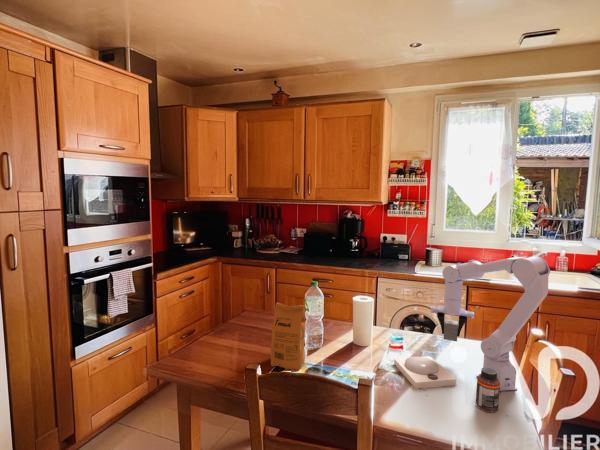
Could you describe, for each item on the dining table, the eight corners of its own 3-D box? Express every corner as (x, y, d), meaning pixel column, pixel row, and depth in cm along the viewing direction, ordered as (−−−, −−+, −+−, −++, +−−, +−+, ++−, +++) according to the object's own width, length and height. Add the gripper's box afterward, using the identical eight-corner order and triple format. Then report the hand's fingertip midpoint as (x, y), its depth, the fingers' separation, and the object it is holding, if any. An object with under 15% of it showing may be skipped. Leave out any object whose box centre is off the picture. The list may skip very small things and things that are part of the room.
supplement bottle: (478, 398, 108) (480, 363, 107) (500, 406, 105) (503, 369, 104) (472, 407, 104) (475, 370, 103) (495, 416, 100) (498, 377, 99)
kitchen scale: (455, 385, 116) (456, 376, 115) (415, 388, 113) (416, 380, 113) (429, 361, 131) (430, 354, 131) (394, 363, 129) (394, 356, 129)
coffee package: (276, 354, 135) (277, 297, 133) (308, 359, 131) (309, 301, 129) (266, 366, 126) (266, 306, 123) (299, 373, 122) (300, 310, 120)
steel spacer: (457, 336, 132) (458, 321, 131) (456, 341, 128) (458, 325, 127) (444, 334, 134) (444, 319, 133) (443, 339, 130) (444, 323, 129)
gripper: (474, 297, 130) (472, 333, 131) (432, 292, 136) (430, 326, 137) (475, 303, 123) (472, 341, 125) (430, 297, 129) (428, 333, 131)
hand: (450, 334), depth 131 cm, fingers closed on steel spacer, 4 cm apart
